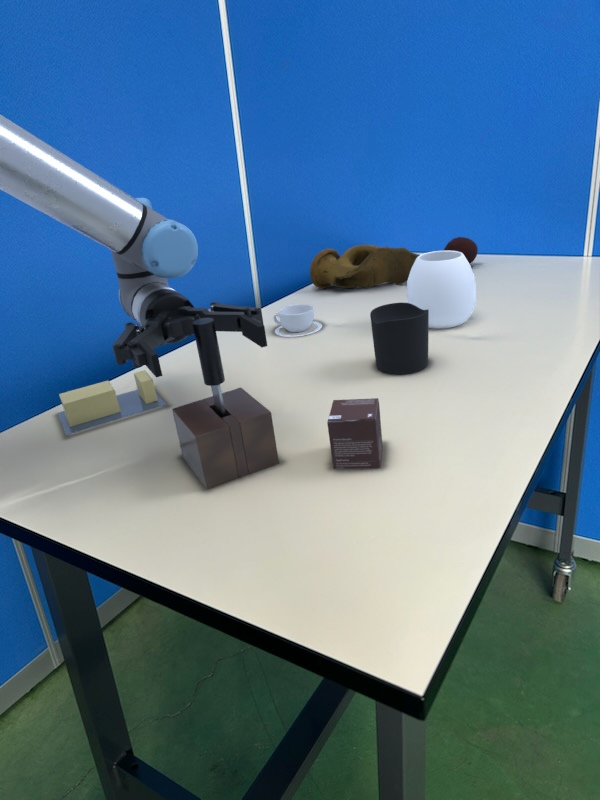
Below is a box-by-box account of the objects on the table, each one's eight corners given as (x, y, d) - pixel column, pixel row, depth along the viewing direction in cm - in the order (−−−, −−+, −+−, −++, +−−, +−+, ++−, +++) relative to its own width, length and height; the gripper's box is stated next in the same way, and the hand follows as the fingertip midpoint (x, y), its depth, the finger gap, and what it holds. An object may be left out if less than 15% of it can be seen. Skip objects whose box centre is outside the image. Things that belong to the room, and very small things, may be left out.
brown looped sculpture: (370, 273, 136) (300, 250, 149) (379, 319, 145) (312, 294, 158) (421, 230, 143) (350, 212, 157) (426, 277, 152) (358, 256, 166)
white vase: (396, 330, 123) (392, 263, 117) (426, 310, 132) (424, 246, 126) (459, 337, 115) (458, 265, 109) (486, 315, 124) (487, 248, 119)
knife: (225, 471, 82) (196, 326, 73) (217, 461, 84) (188, 320, 76) (243, 464, 83) (217, 321, 74) (235, 455, 85) (208, 315, 77)
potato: (483, 267, 158) (483, 236, 154) (449, 273, 157) (448, 242, 153) (470, 261, 165) (470, 231, 162) (436, 266, 164) (436, 237, 161)
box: (383, 447, 82) (380, 397, 79) (381, 471, 77) (376, 419, 74) (338, 448, 83) (332, 399, 80) (332, 472, 78) (326, 420, 75)
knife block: (207, 493, 77) (195, 436, 74) (183, 460, 86) (171, 408, 82) (279, 466, 81) (271, 411, 78) (249, 437, 89) (240, 387, 86)
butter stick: (70, 427, 98) (63, 404, 96) (65, 416, 102) (58, 394, 100) (120, 411, 101) (114, 389, 99) (114, 401, 105) (108, 380, 103)
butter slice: (146, 404, 102) (140, 382, 100) (138, 394, 106) (133, 373, 105) (157, 400, 103) (152, 378, 101) (150, 391, 107) (145, 369, 105)
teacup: (326, 322, 133) (324, 301, 131) (316, 338, 124) (313, 316, 122) (282, 323, 136) (279, 302, 134) (268, 339, 127) (265, 317, 125)
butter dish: (67, 440, 96) (66, 434, 95) (59, 418, 104) (57, 412, 103) (167, 409, 102) (166, 404, 101) (151, 390, 110) (150, 385, 109)
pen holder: (431, 356, 109) (430, 301, 104) (428, 378, 100) (426, 319, 96) (378, 357, 111) (374, 303, 107) (370, 378, 103) (366, 321, 99)
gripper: (245, 317, 98) (306, 352, 81) (85, 359, 89) (116, 409, 72) (237, 270, 95) (299, 296, 78) (71, 308, 86) (99, 348, 68)
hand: (211, 350), depth 75 cm, fingers open, 13 cm apart
